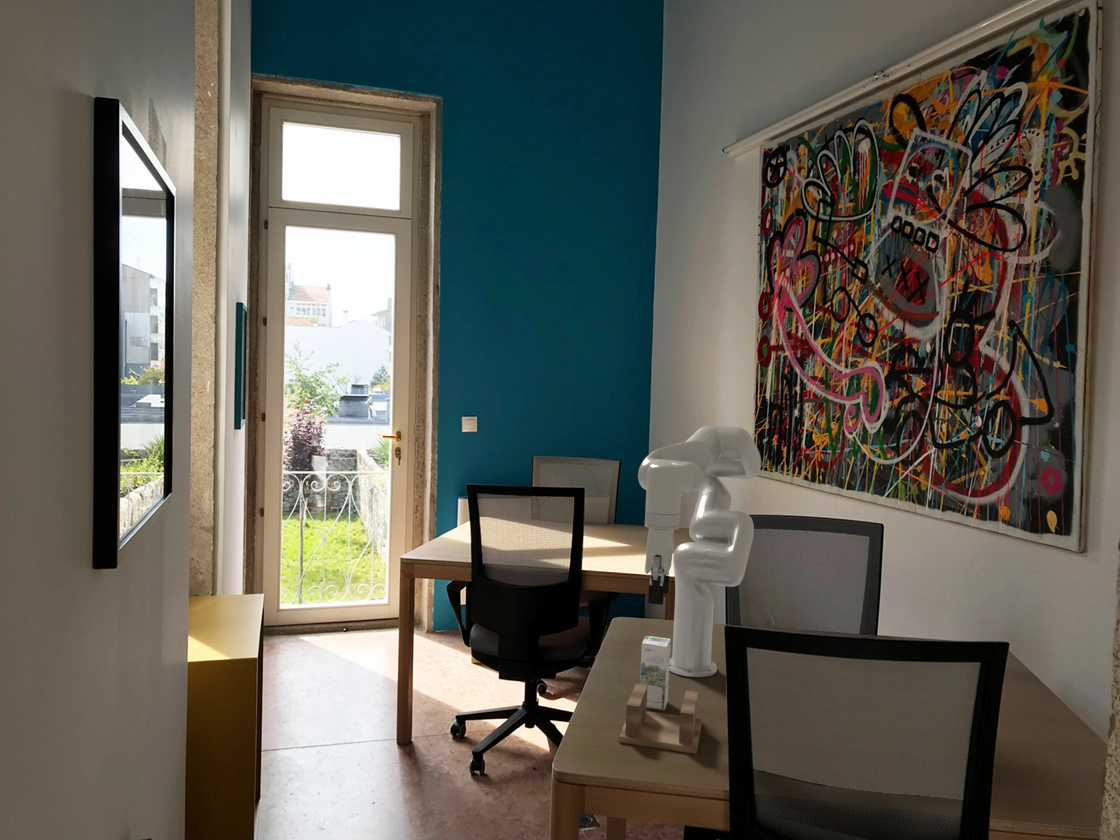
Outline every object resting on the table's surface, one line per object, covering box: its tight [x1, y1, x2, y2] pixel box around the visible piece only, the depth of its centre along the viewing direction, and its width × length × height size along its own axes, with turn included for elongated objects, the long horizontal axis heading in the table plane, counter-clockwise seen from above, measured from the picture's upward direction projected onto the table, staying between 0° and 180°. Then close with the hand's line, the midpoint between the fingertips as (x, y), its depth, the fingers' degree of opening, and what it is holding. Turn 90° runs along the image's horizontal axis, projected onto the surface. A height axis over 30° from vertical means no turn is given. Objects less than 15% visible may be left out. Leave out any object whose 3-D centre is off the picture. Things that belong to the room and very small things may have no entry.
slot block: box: [618, 683, 703, 755], centre depth 163 cm, size 14×15×7 cm
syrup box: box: [639, 635, 672, 712], centre depth 178 cm, size 6×6×14 cm
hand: (658, 598), depth 177 cm, fingers open, 9 cm apart
